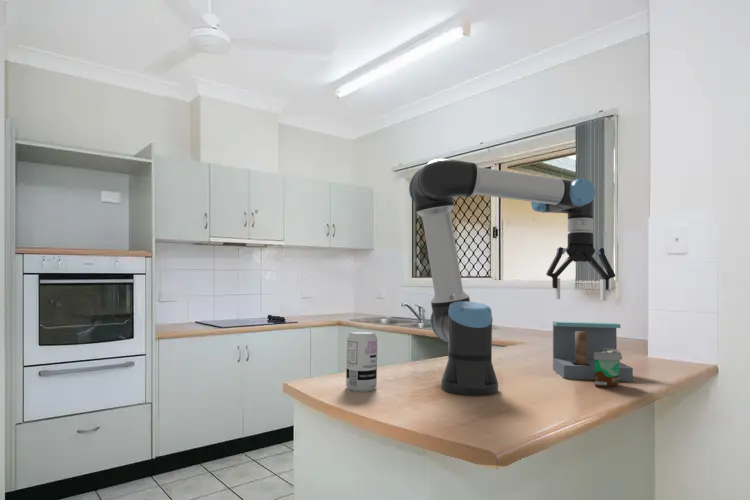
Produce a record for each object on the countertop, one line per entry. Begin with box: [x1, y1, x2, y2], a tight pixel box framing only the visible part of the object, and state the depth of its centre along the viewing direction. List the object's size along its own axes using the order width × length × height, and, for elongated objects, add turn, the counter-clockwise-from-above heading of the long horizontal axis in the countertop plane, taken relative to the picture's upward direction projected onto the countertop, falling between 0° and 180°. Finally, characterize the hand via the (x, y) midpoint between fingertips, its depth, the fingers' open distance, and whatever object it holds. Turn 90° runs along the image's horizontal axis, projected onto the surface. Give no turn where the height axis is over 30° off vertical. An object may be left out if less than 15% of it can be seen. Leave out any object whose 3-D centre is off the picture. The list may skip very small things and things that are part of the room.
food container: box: [594, 348, 623, 389], centre depth 139 cm, size 12×6×10 cm, turn 143°
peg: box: [575, 331, 587, 366], centre depth 151 cm, size 3×3×14 cm
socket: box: [552, 320, 634, 382], centre depth 154 cm, size 20×14×16 cm
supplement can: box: [345, 330, 378, 393], centre depth 130 cm, size 8×8×15 cm
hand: (580, 299), depth 152 cm, fingers open, 13 cm apart
